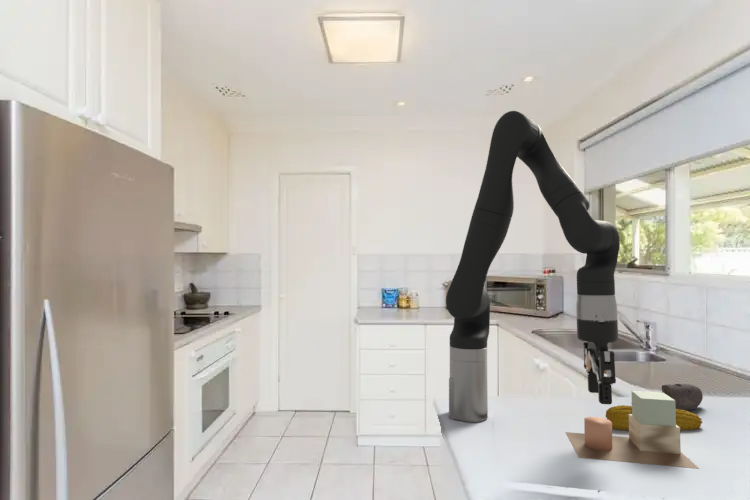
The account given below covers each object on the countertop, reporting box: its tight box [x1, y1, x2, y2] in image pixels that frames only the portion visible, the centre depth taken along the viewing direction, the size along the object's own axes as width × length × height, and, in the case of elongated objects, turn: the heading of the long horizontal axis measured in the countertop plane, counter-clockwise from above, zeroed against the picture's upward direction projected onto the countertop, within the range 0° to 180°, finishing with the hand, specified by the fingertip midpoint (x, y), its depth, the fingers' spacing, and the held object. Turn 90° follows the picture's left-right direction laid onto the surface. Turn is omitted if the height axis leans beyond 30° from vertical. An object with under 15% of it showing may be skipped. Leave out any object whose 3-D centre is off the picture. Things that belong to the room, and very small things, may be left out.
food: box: [605, 404, 703, 431], centre depth 103 cm, size 21×6×6 cm, turn 93°
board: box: [565, 431, 700, 469], centre depth 90 cm, size 20×14×1 cm
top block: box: [631, 390, 676, 427], centre depth 92 cm, size 6×6×5 cm
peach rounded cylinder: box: [583, 416, 613, 451], centre depth 91 cm, size 5×5×5 cm
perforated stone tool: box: [661, 383, 704, 411], centre depth 120 cm, size 15×5×7 cm, turn 112°
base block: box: [628, 414, 681, 454], centre depth 92 cm, size 7×7×5 cm
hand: (599, 397), depth 92 cm, fingers open, 8 cm apart
